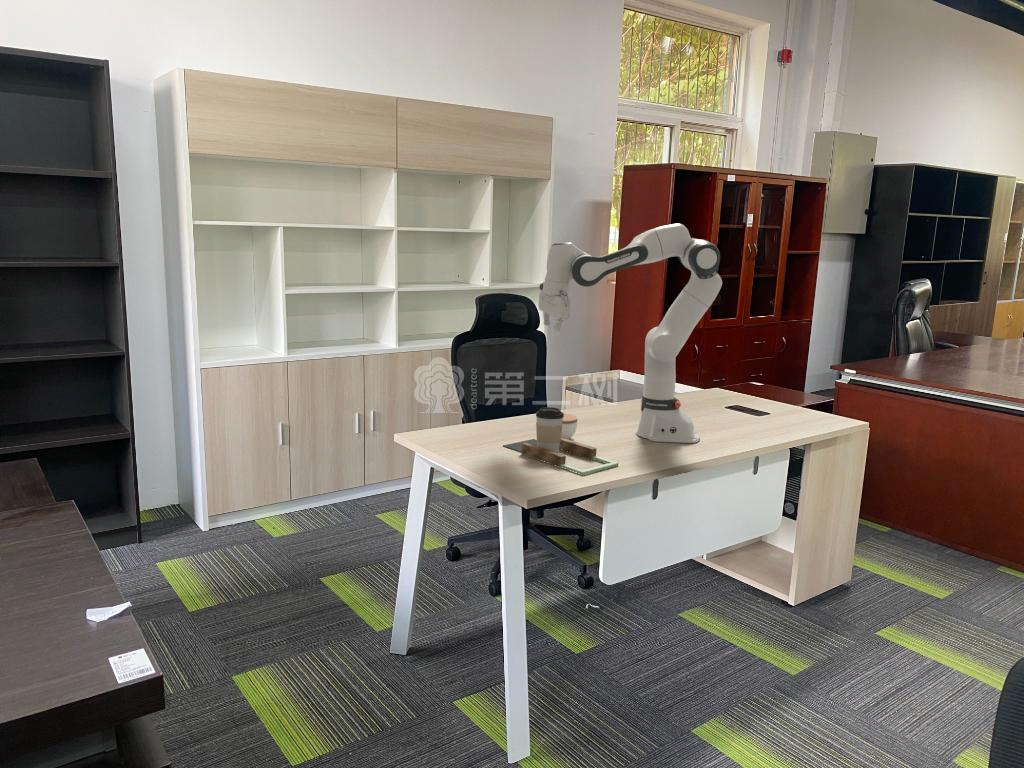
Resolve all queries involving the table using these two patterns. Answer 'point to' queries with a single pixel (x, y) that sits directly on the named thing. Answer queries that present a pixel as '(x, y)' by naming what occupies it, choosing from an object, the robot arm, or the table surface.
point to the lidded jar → (568, 426)
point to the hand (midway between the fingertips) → (551, 327)
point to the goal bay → (594, 469)
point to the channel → (556, 457)
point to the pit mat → (520, 444)
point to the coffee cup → (549, 428)
